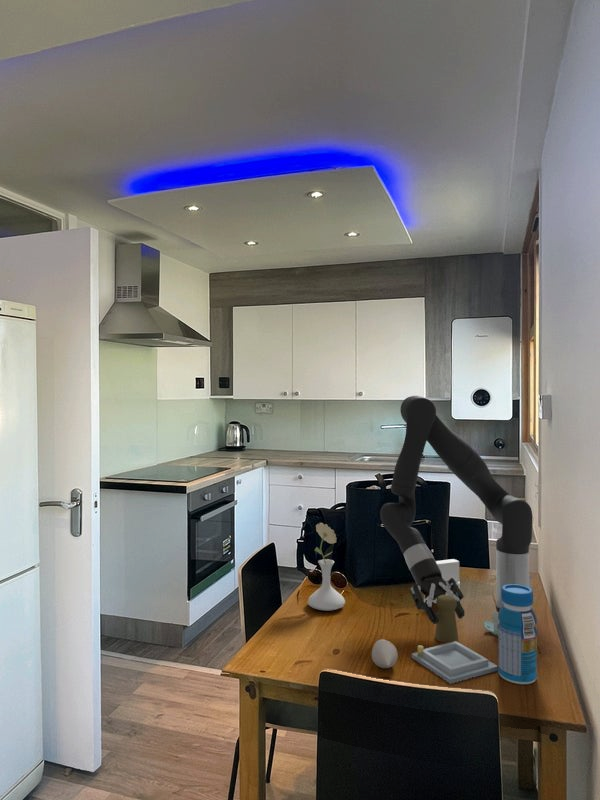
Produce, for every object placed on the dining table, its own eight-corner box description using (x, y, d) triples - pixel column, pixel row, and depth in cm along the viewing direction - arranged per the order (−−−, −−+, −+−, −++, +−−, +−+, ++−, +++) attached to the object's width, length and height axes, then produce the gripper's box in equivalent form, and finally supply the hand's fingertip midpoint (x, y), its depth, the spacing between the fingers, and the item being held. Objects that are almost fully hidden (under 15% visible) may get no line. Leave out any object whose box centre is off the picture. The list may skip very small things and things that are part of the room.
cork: (459, 643, 144) (459, 601, 144) (435, 642, 145) (435, 599, 145) (457, 634, 150) (457, 593, 149) (434, 632, 151) (434, 591, 151)
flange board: (456, 646, 142) (456, 634, 142) (497, 670, 130) (497, 657, 130) (411, 657, 136) (411, 645, 136) (450, 684, 124) (450, 670, 124)
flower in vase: (351, 611, 166) (351, 527, 166) (315, 616, 162) (315, 530, 162) (333, 596, 178) (333, 518, 178) (300, 601, 174) (300, 521, 174)
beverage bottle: (497, 682, 124) (496, 592, 124) (498, 665, 132) (497, 580, 132) (538, 688, 121) (538, 597, 121) (536, 671, 129) (536, 584, 129)
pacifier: (494, 626, 155) (481, 631, 151) (494, 604, 155) (481, 608, 151) (518, 635, 149) (504, 641, 145) (518, 612, 149) (505, 616, 145)
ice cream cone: (386, 686, 122) (380, 665, 137) (408, 668, 123) (399, 649, 138) (368, 663, 123) (364, 644, 138) (389, 645, 124) (383, 628, 139)
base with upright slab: (449, 593, 180) (449, 556, 180) (465, 603, 172) (465, 564, 172) (424, 596, 178) (424, 559, 178) (440, 606, 169) (440, 567, 169)
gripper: (406, 560, 151) (434, 618, 141) (448, 554, 157) (477, 608, 147) (395, 574, 156) (421, 631, 145) (436, 567, 162) (463, 621, 151)
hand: (449, 619), depth 146 cm, fingers open, 8 cm apart
